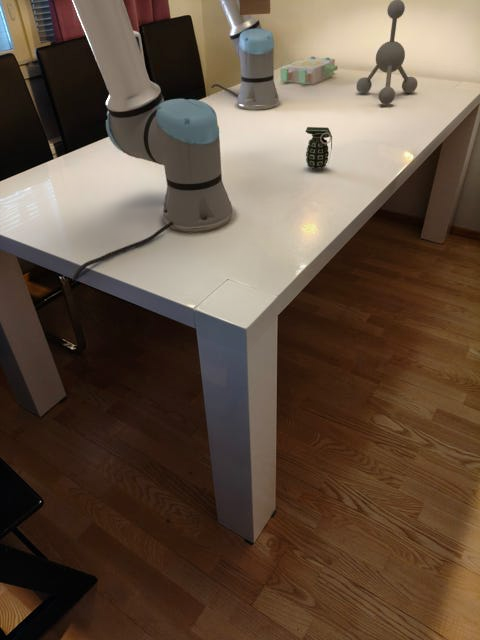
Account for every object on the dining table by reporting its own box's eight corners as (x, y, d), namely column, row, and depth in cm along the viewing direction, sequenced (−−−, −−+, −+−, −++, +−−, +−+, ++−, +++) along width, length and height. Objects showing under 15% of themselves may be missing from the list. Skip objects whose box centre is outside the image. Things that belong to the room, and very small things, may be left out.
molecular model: (436, 99, 173) (455, -2, 154) (383, 108, 167) (396, 4, 148) (396, 85, 190) (408, -7, 172) (347, 93, 184) (354, -1, 166)
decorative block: (303, 54, 216) (344, 57, 207) (302, 70, 220) (342, 74, 211) (271, 65, 200) (314, 69, 191) (271, 82, 204) (314, 87, 195)
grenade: (303, 171, 125) (304, 132, 119) (306, 163, 129) (307, 125, 123) (329, 173, 124) (331, 132, 117) (331, 164, 128) (333, 125, 122)
